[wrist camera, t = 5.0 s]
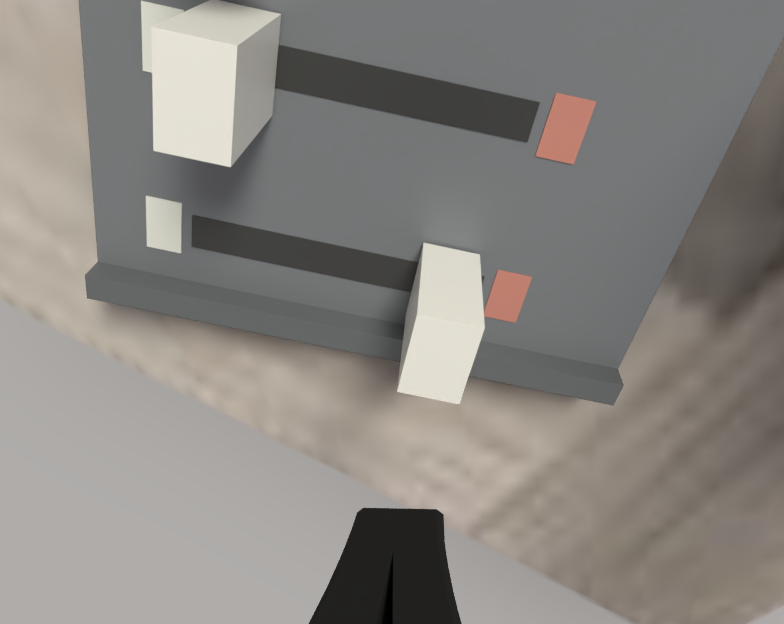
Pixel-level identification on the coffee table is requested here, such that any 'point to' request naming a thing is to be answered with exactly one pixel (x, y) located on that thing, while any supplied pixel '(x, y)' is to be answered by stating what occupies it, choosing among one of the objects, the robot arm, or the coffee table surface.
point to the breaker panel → (431, 170)
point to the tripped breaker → (442, 324)
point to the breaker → (213, 80)
